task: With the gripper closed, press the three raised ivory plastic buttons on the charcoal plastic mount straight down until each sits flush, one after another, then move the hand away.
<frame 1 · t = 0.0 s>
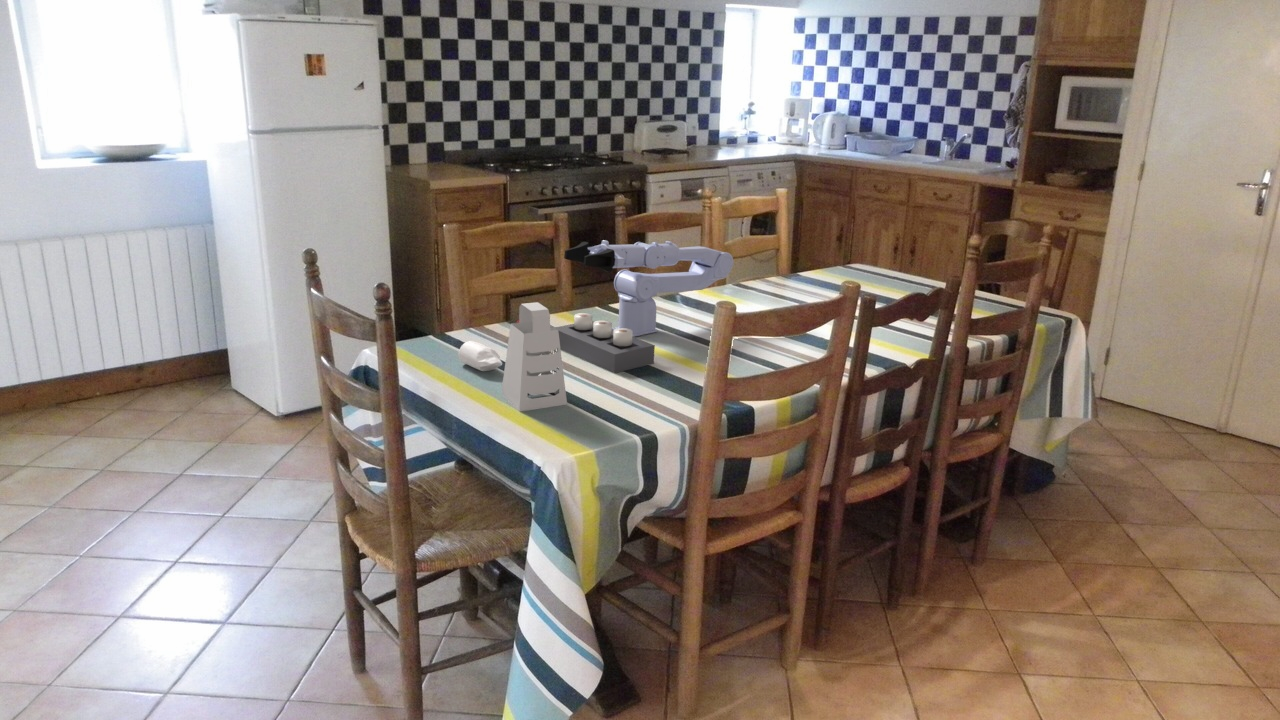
hand: (574, 257, 224), 22 cm above the table, fingers open, 7 cm apart
button 2: (622, 337, 217), point 6 cm above the table, slide at 2.5 cm
button 1: (583, 321, 228), point 6 cm above the table, slide at 2.5 cm
button middle: (602, 329, 223), point 6 cm above the table, slide at 2.5 cm
grater: (533, 400, 195), on the table
mount: (601, 354, 225), on the table
onion: (526, 343, 231), on the table
roll: (483, 371, 211), on the table
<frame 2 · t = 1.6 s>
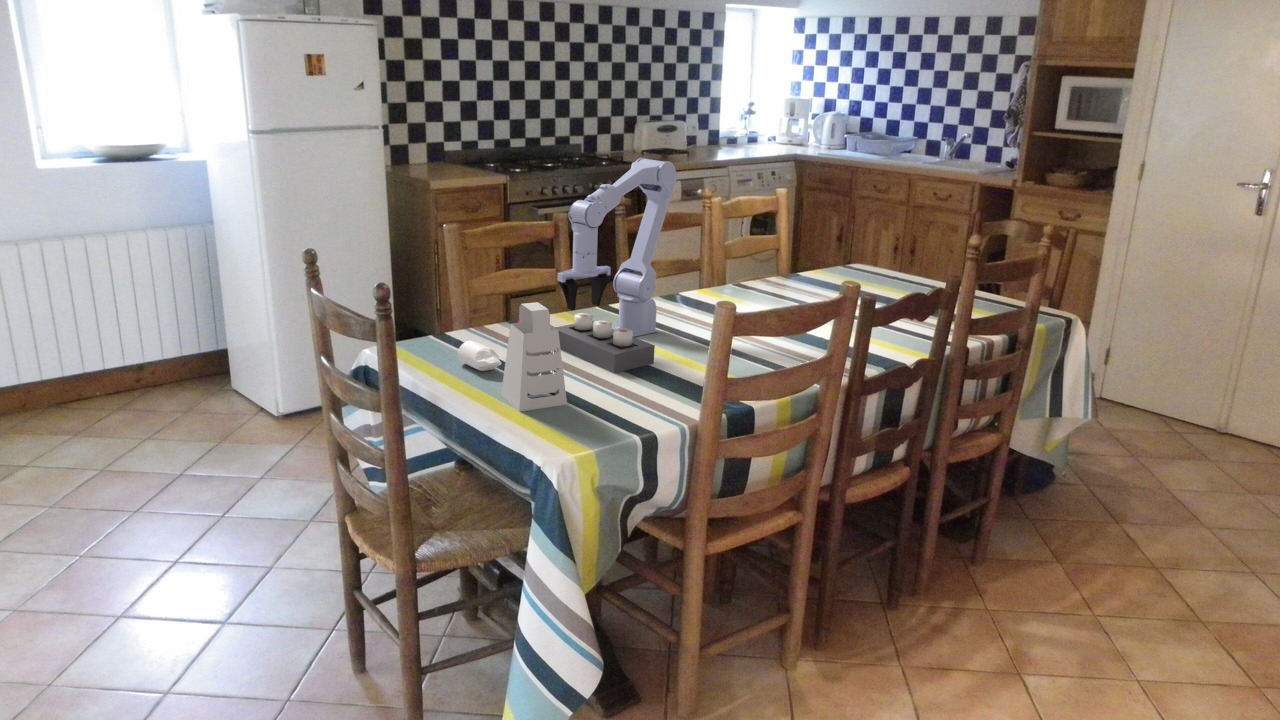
hand: (583, 307, 227), 10 cm above the table, fingers open, 7 cm apart
nothing on the table moved.
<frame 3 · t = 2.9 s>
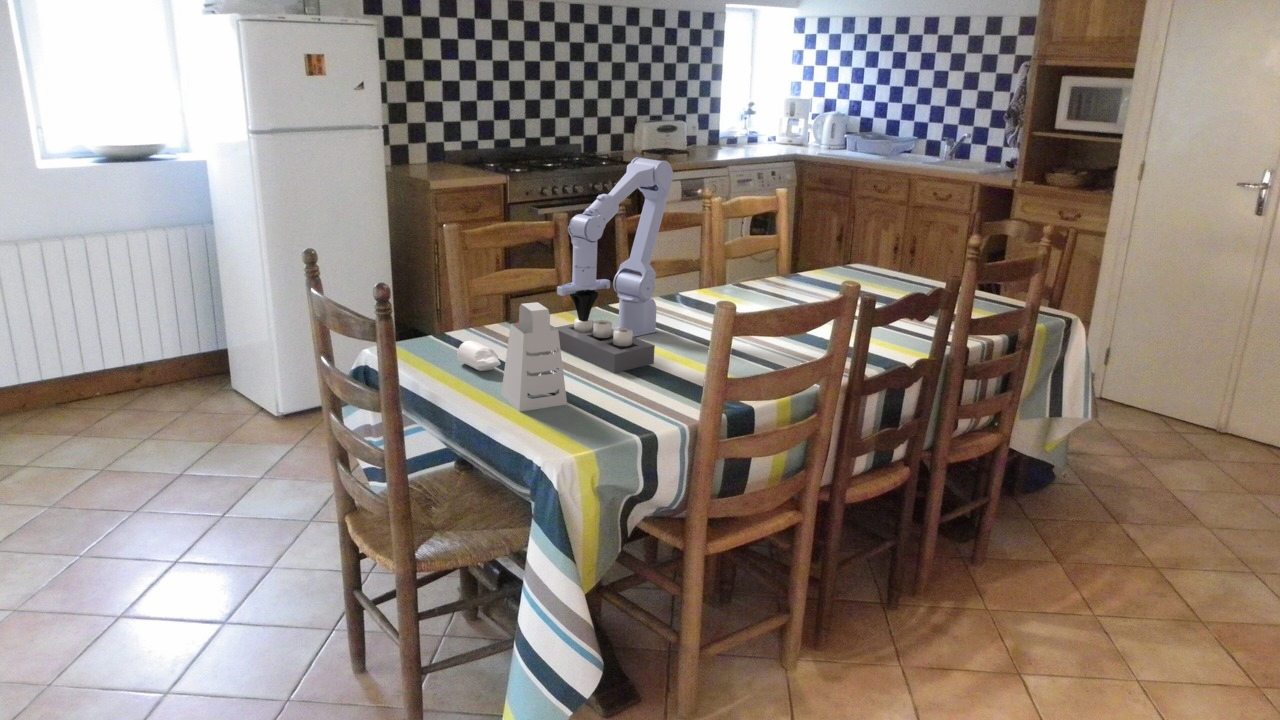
hand: (583, 320, 228), 7 cm above the table, fingers closed, pressing on button 1
button 1: (583, 326, 228), point 5 cm above the table, slide at 1.3 cm, touching gripper
everything else where it was.
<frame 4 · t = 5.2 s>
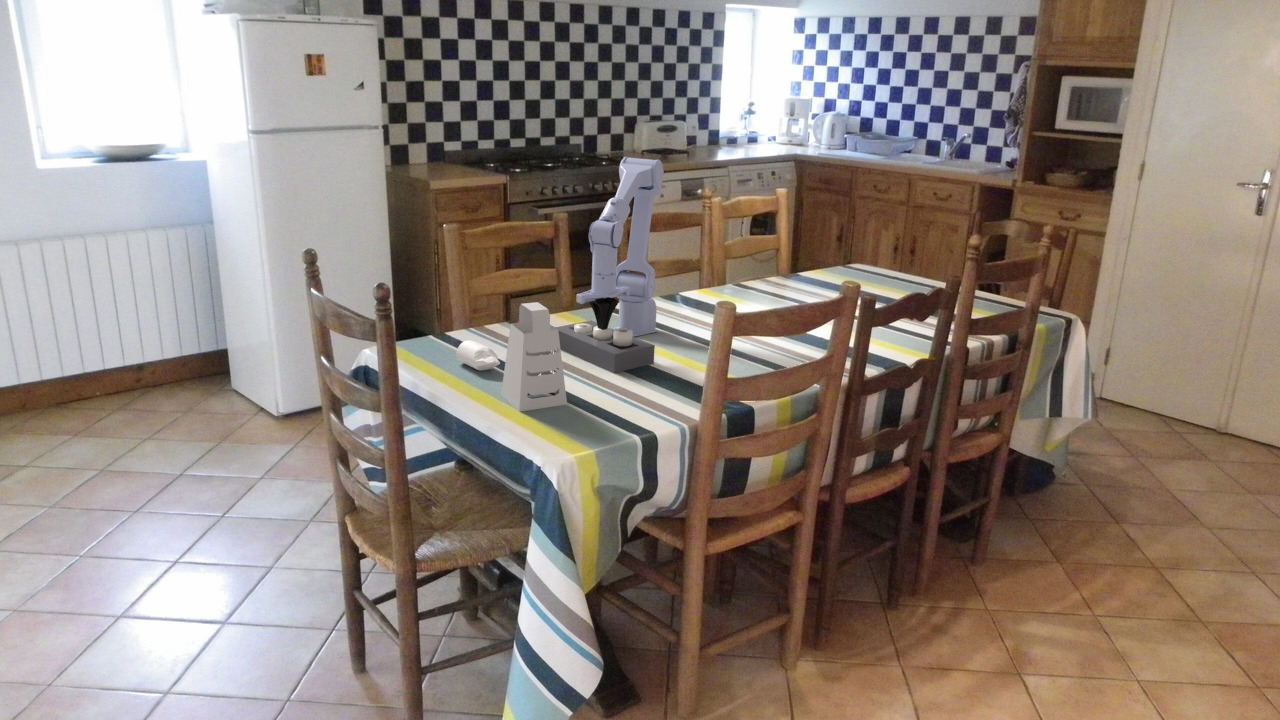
hand: (602, 328, 223), 6 cm above the table, fingers closed, pressing on button middle
button 1: (583, 331, 229), point 4 cm above the table, slide at -0.2 cm
button middle: (602, 334, 223), point 5 cm above the table, slide at 1.2 cm, touching gripper
everything else where it was.
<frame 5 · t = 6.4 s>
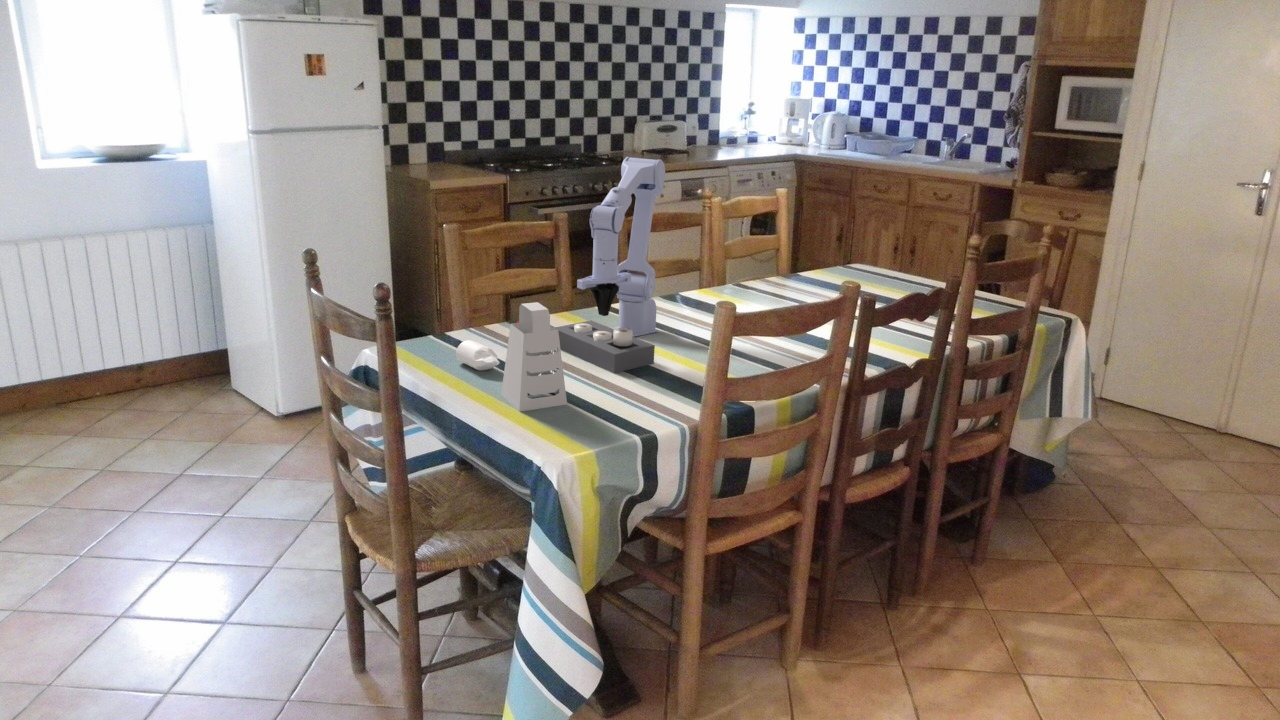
hand: (603, 314, 221), 10 cm above the table, fingers closed
button middle: (602, 339, 224), point 4 cm above the table, slide at -0.2 cm
everything else where it was.
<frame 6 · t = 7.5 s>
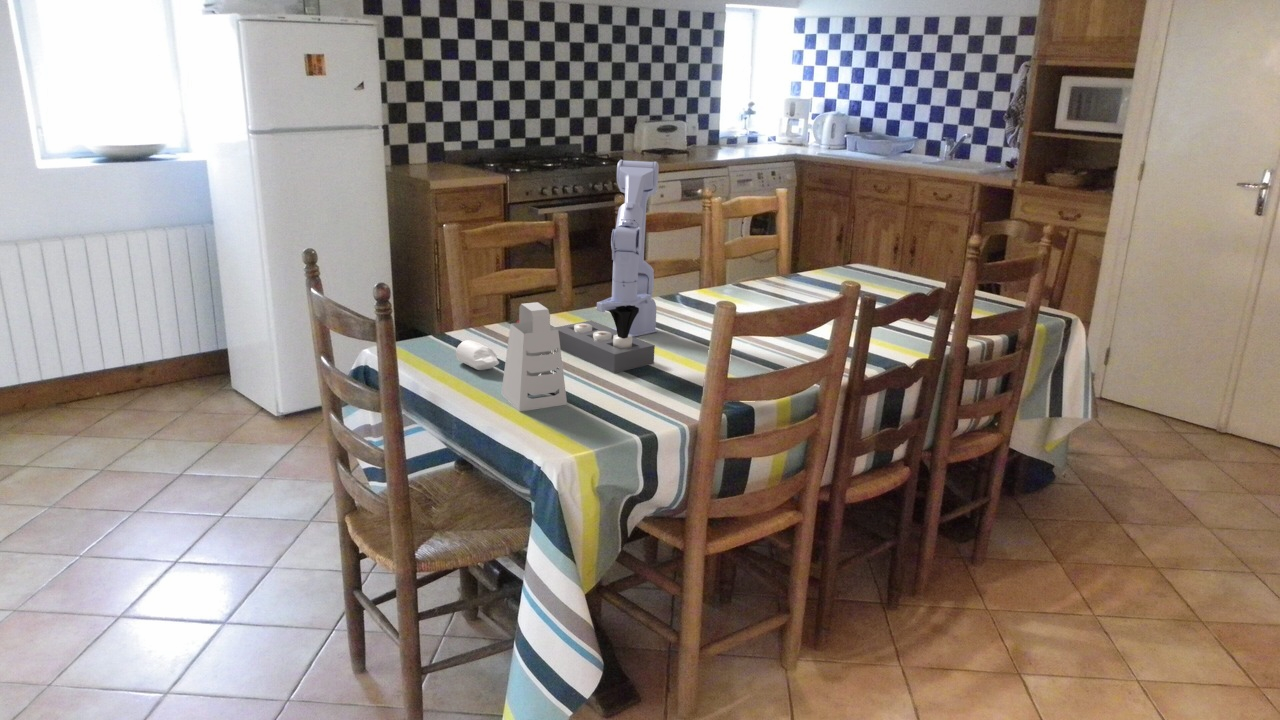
hand: (622, 337, 217), 6 cm above the table, fingers closed, pressing on button 2
button 2: (622, 343, 218), point 5 cm above the table, slide at 1.1 cm, touching gripper
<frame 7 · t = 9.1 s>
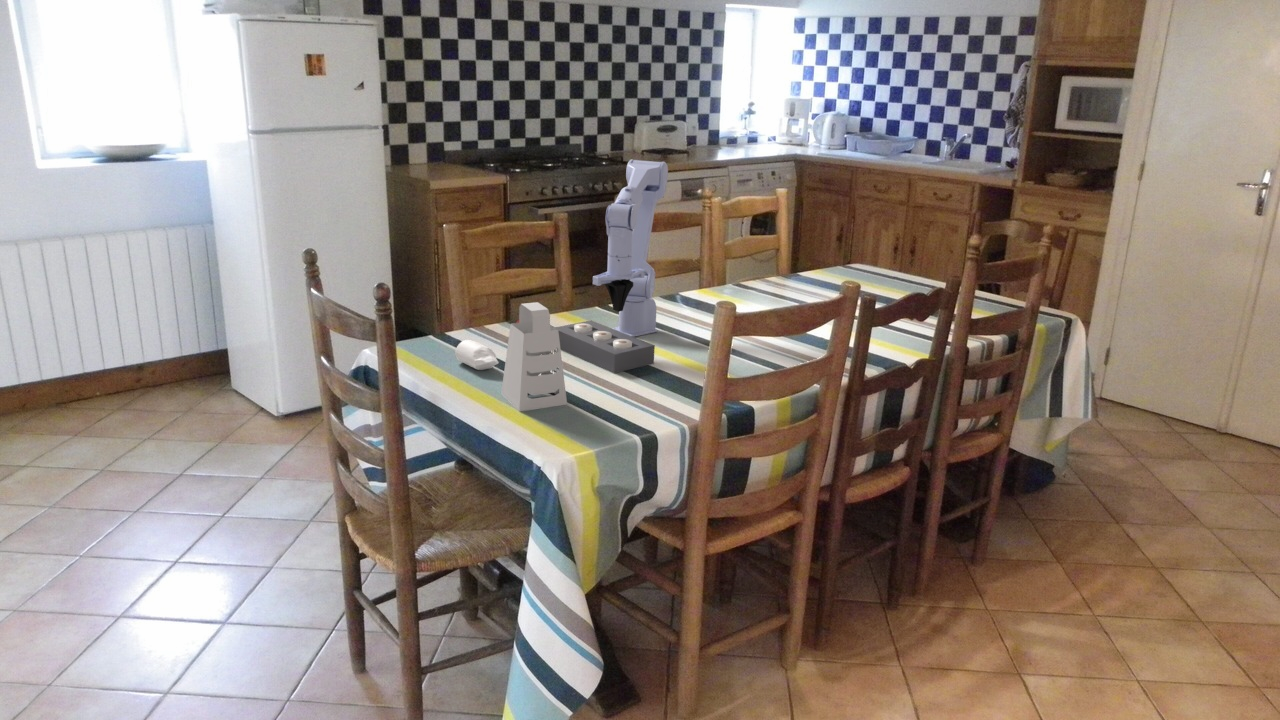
hand: (618, 310, 226), 10 cm above the table, fingers closed
button 2: (622, 348, 218), point 4 cm above the table, slide at -0.2 cm
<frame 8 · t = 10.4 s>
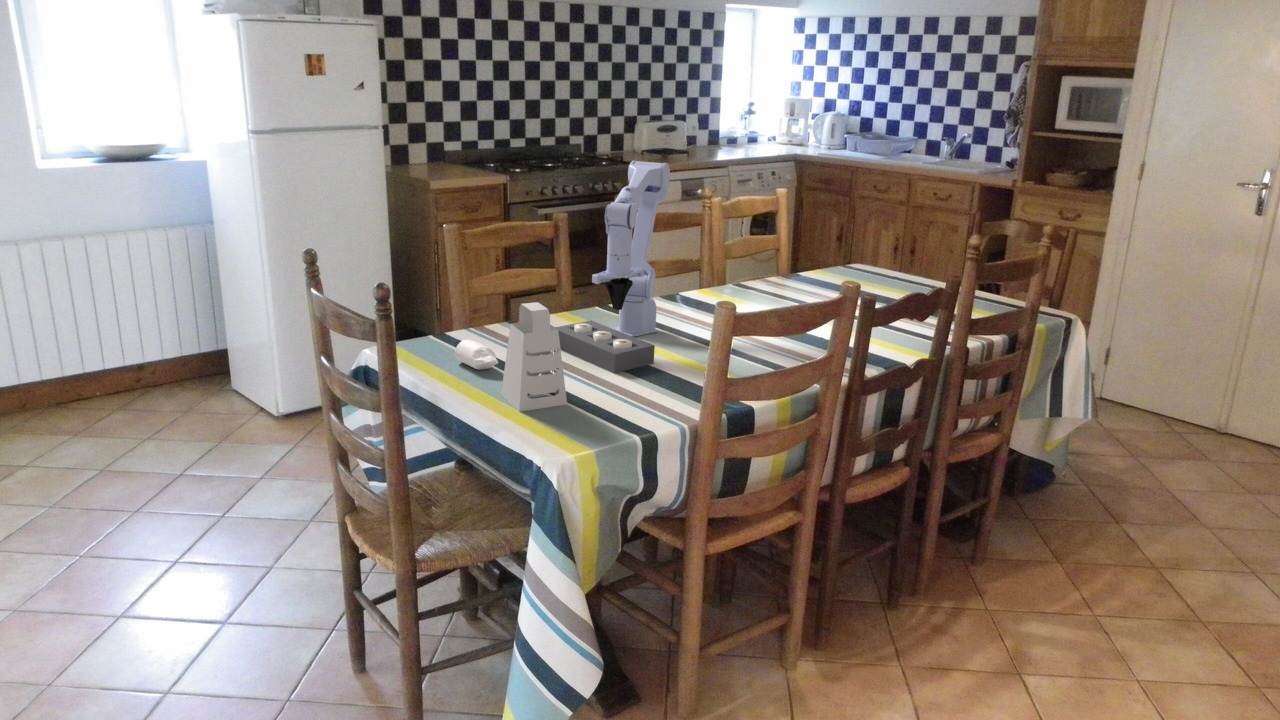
hand: (617, 308, 227), 10 cm above the table, fingers closed
at the end: button 1 slide at -0.2 cm; button middle slide at -0.2 cm; button 2 slide at -0.2 cm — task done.
